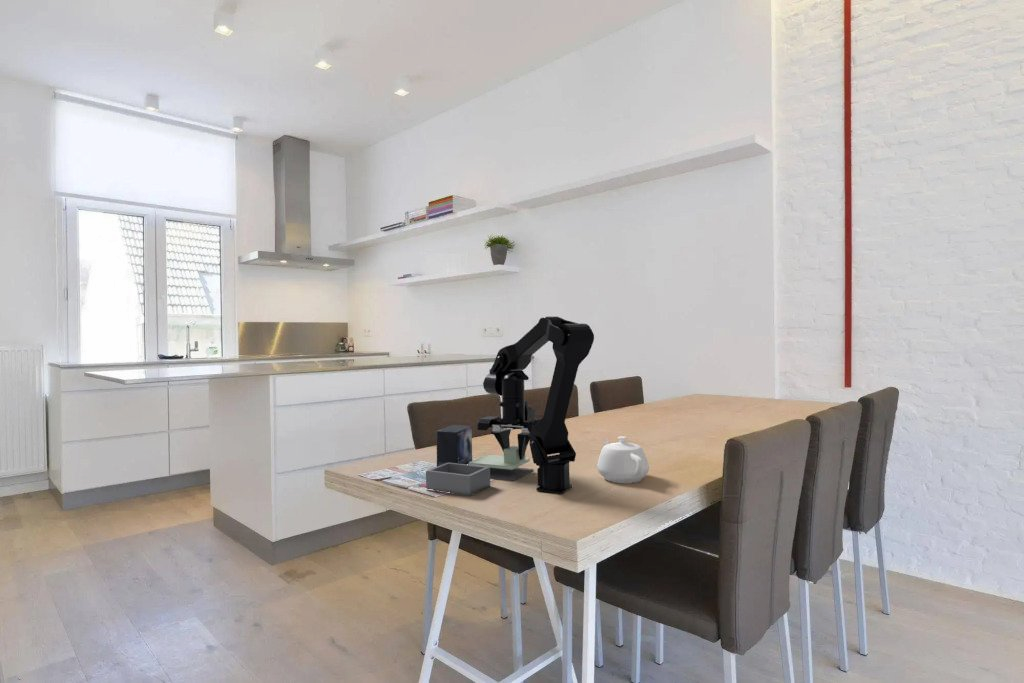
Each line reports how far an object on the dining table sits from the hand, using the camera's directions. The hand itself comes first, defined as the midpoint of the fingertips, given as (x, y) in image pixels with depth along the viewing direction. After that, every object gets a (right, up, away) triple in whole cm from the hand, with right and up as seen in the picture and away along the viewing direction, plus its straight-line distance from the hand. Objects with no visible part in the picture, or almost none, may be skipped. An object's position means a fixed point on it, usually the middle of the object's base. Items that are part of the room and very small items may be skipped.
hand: (514, 458), depth 144 cm
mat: (-4, -4, +2) cm, 6 cm away
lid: (-4, -2, +2) cm, 5 cm away
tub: (-13, -5, -11) cm, 18 cm away
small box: (-16, -4, +11) cm, 20 cm away
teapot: (+26, -4, -5) cm, 27 cm away
